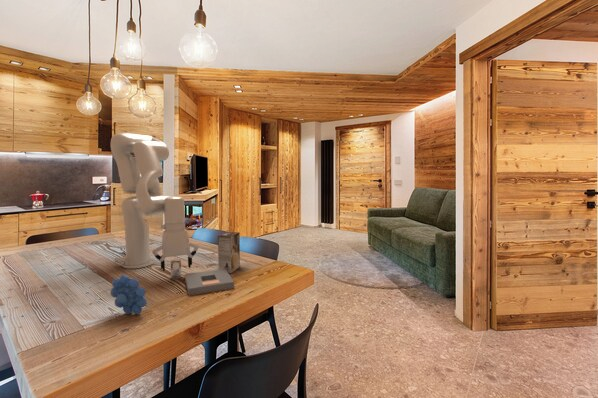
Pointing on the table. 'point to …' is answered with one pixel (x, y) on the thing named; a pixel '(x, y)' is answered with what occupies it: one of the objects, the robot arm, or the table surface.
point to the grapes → (128, 294)
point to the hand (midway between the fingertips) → (176, 268)
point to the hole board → (208, 281)
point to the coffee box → (229, 251)
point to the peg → (175, 268)
